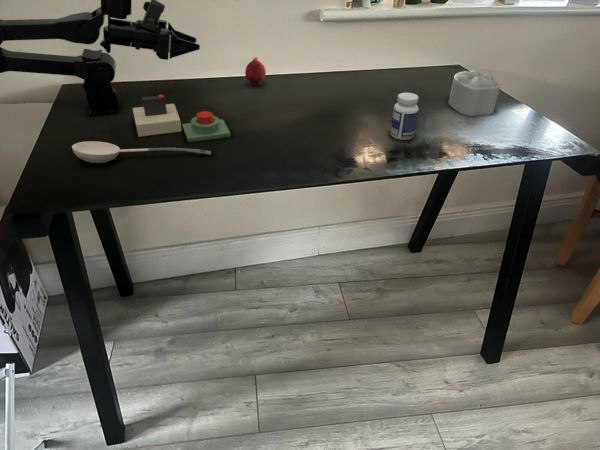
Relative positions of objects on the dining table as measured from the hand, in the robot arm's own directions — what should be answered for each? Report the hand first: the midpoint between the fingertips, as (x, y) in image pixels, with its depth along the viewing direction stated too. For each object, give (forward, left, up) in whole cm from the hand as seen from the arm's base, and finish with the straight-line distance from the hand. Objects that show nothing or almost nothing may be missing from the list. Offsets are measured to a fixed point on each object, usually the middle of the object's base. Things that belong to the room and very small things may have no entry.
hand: (197, 43), depth 121 cm
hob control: (-13, -11, -15) cm, 23 cm away
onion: (+17, +8, -16) cm, 24 cm away
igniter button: (-3, -18, -13) cm, 22 cm away
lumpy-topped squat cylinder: (+69, -22, -16) cm, 74 cm away
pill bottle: (+42, -33, -16) cm, 55 cm away
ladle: (-18, -27, -16) cm, 35 cm away
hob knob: (-13, -11, -12) cm, 21 cm away
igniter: (-3, -18, -15) cm, 24 cm away
